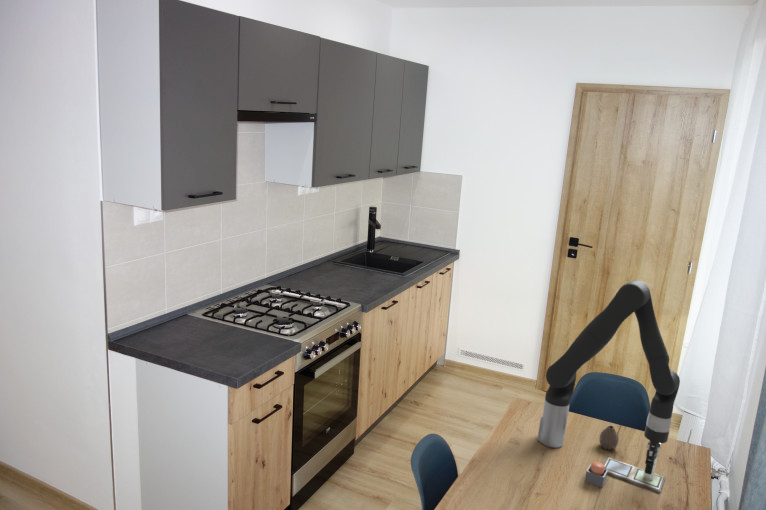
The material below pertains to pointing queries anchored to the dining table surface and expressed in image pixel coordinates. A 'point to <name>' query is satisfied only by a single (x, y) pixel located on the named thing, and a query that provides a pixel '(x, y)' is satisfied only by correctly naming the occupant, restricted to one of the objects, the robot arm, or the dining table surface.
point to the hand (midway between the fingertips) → (649, 469)
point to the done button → (597, 468)
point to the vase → (609, 438)
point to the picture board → (633, 475)
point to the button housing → (595, 477)
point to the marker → (650, 476)
